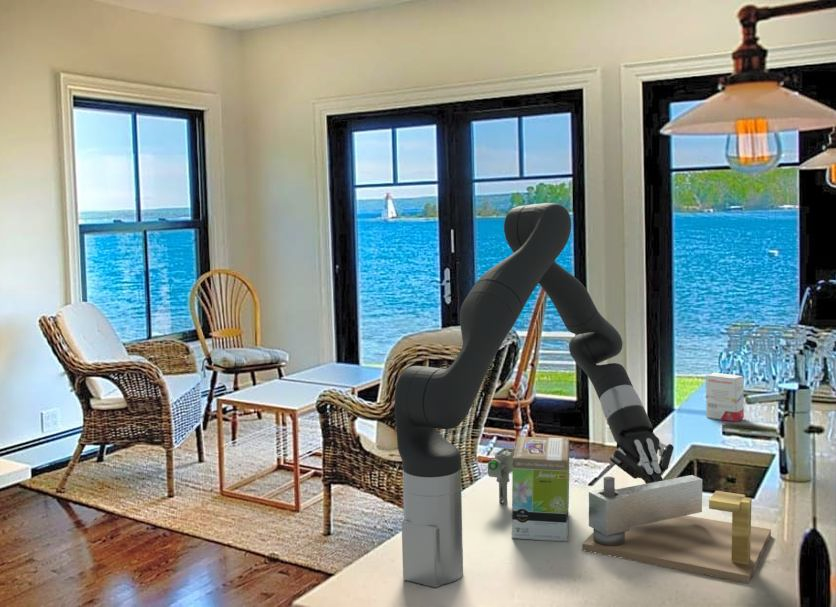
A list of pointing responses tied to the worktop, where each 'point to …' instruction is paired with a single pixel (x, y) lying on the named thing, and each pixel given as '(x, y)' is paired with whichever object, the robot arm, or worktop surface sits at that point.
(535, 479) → the tea box
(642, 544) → the latch board
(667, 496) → the link
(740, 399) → the ink box
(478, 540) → the worktop surface
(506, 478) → the mechanical component
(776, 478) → the worktop surface
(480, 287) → the robot arm
